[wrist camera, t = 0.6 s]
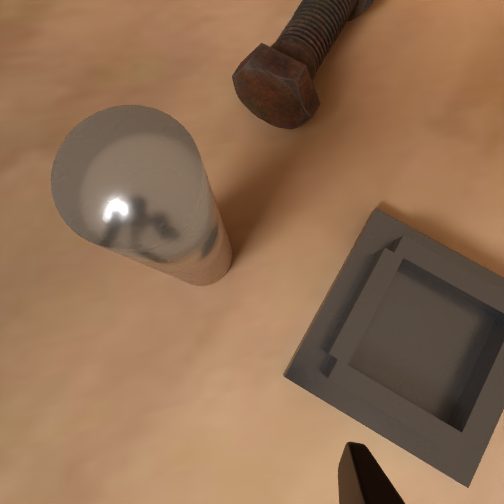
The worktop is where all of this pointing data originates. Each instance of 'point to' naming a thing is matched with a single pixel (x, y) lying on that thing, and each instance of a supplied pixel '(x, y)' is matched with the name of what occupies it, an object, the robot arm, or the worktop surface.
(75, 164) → the shiny tapered metal piece
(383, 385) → the block
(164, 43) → the worktop surface
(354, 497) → the robot arm
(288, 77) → the bolt
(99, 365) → the worktop surface
